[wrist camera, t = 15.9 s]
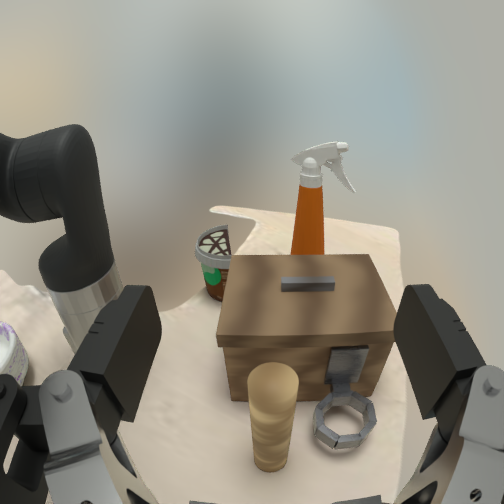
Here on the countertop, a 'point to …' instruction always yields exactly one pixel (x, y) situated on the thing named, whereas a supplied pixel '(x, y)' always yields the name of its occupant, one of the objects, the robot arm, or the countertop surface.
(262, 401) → the tan wooden cylinder
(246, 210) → the countertop surface
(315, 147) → the spray bottle
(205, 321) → the countertop surface
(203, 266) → the food container
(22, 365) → the paper bowls
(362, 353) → the hasp
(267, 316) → the toolbox
